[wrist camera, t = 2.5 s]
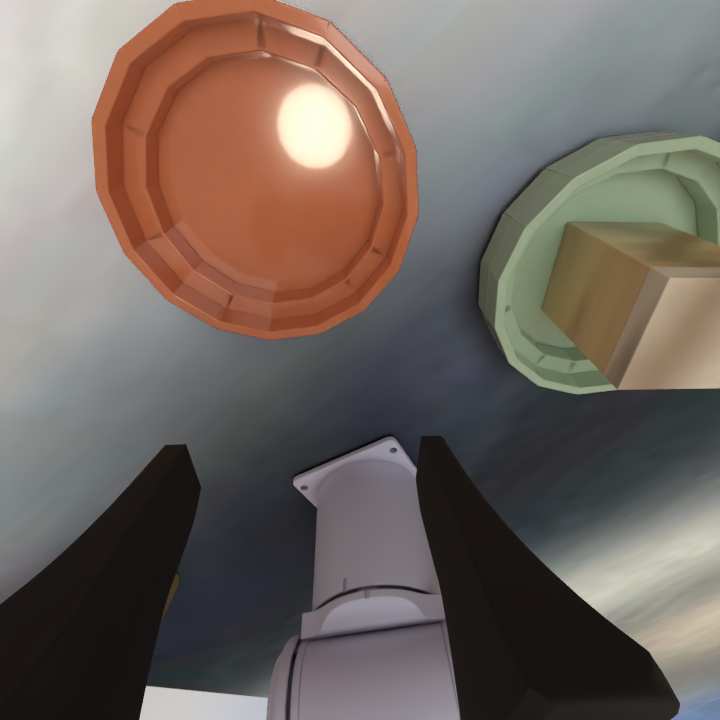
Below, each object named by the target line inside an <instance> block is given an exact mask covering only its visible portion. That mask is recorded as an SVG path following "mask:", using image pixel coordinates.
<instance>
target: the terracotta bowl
mask: <svg viewBox="0 0 720 720" xmlns="http://www.w3.org/2000/svg"><path fill="white" fill-rule="evenodd" d="M118 51H119V52H117V54H116V56H115V59H114V61H113V64H112V67H111V69H110V72H109V75H108V77H107V80H106V82H105V85H104V88H103V90H102V93H101V96H100V98H99V101H98V103H97V106H96V109H95V111H94V114H93V117H92V136H93V152H94V167H95V182H96V191H97V194H98V197H99V199H100V201H101V203H102V205H103V208H104V210H105V212H106V214H107V217H108V219H109V221H110V223H111V225H112V228H113V230H114V232H115V234H116V237H117V239H118V241H119V243H120V245H121V248H122V250H123V252H124V253H125V255H126V256H127V257H128V258H129V259H130V260H131V262H132V263H133V264H134V265H135V266H136V267H137V268H138V269H139V270H140V271H141V272H142V274H143V275H144V276H145V277H146V278H147V279H148V280H149V281H150V282H151V283H152V284H153V286H154V287H155V288H156V289H157V290H158V291H159V292H160V293H161V294H162V295H163V296H164V298H165V299H167V300H168V301H169V302H171V303H173V304H175V305H176V306H178V307H180V308H181V309H183V310H185V311H187V312H188V313H190V314H192V315H194V316H195V317H197V318H199V319H201V320H202V321H204V322H206V323H207V324H209V325H211V326H213V327H214V328H216V329H219V330H224V331H229V332H233V333H238V334H243V335H247V336H252V337H257V338H261V339H266V340H274V339H283V338H291V337H299V336H307V335H315V334H319V333H322V332H324V331H326V330H328V329H330V328H332V327H334V326H336V325H338V324H340V323H341V322H343V321H345V320H347V319H349V318H351V317H353V316H355V315H357V314H359V313H361V312H363V311H364V310H365V309H366V308H367V307H368V306H369V305H370V303H371V302H372V301H373V300H374V299H375V298H376V297H377V295H378V294H379V293H380V292H381V291H382V290H383V288H384V287H385V286H386V285H387V284H388V283H389V282H390V280H391V279H392V278H393V277H394V276H395V275H396V274H397V272H398V270H399V269H400V266H401V264H402V261H403V258H404V255H405V252H406V249H407V247H408V244H409V241H410V238H411V235H412V232H413V230H414V227H415V224H416V221H417V218H418V184H417V151H416V146H415V144H414V142H413V139H412V137H411V134H410V132H409V130H408V127H407V125H406V123H405V120H404V118H403V115H402V113H401V111H400V108H399V106H398V103H397V101H396V99H395V96H394V94H393V92H392V89H391V87H390V84H389V82H388V80H386V77H385V76H384V75H383V74H382V73H381V72H380V71H379V70H378V69H377V68H376V67H375V66H374V65H373V64H372V63H371V62H370V61H369V60H368V59H367V58H366V57H365V56H364V55H363V54H362V53H361V52H360V51H359V50H358V49H357V48H356V47H355V46H354V45H353V44H352V43H351V42H350V41H349V40H348V39H347V38H346V37H345V36H344V35H343V34H342V33H341V32H340V31H339V30H338V29H337V28H336V27H335V26H334V25H333V24H332V23H331V22H329V21H328V20H326V19H324V18H321V17H318V16H316V15H313V14H310V13H308V12H305V11H302V10H300V9H297V8H294V7H292V6H289V5H286V4H284V3H281V2H279V1H276V0H192V1H185V2H178V3H176V4H173V5H172V6H171V7H170V8H168V9H167V10H166V11H165V12H164V13H162V14H161V15H160V16H159V17H158V18H156V19H155V20H154V21H153V22H152V23H150V24H149V25H148V26H147V27H145V28H144V29H143V30H142V31H141V32H139V33H138V34H137V35H136V36H135V37H133V38H132V39H131V40H130V41H129V42H127V43H126V44H125V45H124V46H123V47H121V48H120V49H119V50H118Z"/></svg>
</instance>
